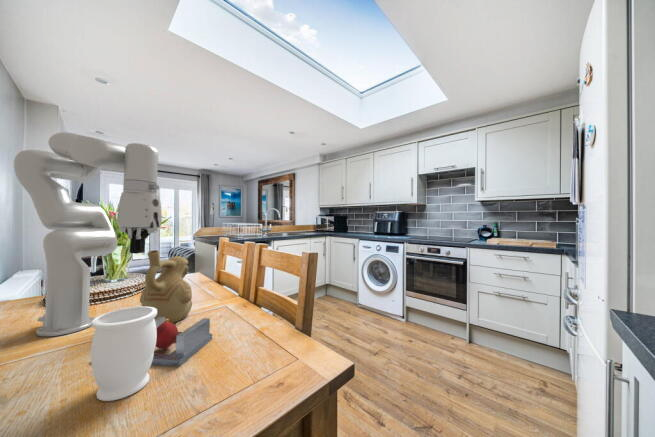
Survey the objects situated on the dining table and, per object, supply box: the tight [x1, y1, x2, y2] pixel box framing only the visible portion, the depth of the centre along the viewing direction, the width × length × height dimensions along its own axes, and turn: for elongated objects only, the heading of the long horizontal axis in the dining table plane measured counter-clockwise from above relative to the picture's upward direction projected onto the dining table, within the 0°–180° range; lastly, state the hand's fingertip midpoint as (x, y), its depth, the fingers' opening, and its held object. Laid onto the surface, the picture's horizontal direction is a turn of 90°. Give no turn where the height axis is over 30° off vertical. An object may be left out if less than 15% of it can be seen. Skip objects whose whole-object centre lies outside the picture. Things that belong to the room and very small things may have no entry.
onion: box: [155, 319, 179, 350], centre depth 65 cm, size 6×6×8 cm
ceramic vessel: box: [139, 249, 193, 324], centre depth 85 cm, size 17×20×25 cm
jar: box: [90, 305, 157, 402], centre depth 50 cm, size 11×10×15 cm
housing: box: [151, 317, 213, 368], centre depth 65 cm, size 22×14×6 cm, turn 85°
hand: (137, 252), depth 68 cm, fingers closed
